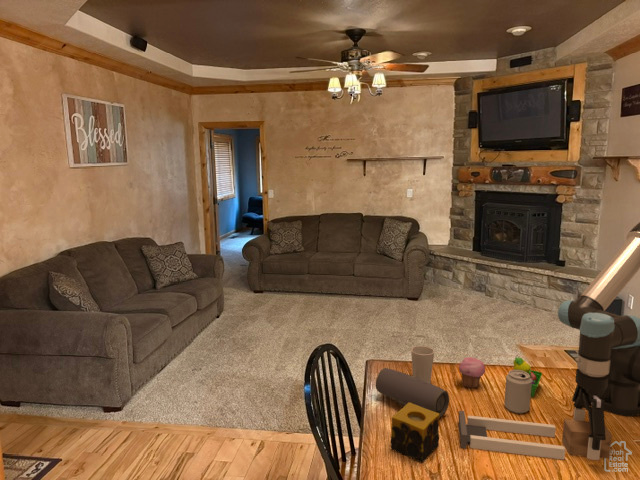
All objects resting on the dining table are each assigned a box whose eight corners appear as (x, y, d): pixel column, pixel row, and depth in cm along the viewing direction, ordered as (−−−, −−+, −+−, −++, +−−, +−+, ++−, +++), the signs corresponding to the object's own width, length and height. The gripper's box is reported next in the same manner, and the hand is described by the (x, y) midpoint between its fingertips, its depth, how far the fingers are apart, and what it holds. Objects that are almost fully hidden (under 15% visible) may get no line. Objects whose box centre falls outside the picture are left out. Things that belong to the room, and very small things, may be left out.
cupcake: (460, 377, 175) (462, 351, 173) (485, 382, 171) (487, 356, 169) (455, 388, 167) (457, 361, 165) (481, 393, 163) (483, 366, 161)
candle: (407, 432, 140) (408, 401, 139) (439, 445, 134) (441, 413, 132) (389, 449, 133) (390, 416, 131) (422, 464, 126) (423, 429, 125)
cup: (406, 378, 174) (407, 347, 172) (425, 375, 176) (426, 344, 174) (417, 388, 167) (418, 356, 164) (437, 385, 169) (438, 353, 167)
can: (531, 415, 149) (534, 379, 147) (506, 413, 150) (508, 377, 148) (526, 403, 156) (529, 369, 154) (502, 401, 158) (504, 367, 156)
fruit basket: (536, 400, 159) (539, 368, 157) (508, 393, 163) (510, 362, 161) (541, 386, 168) (544, 355, 166) (514, 380, 173) (516, 350, 171)
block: (600, 445, 134) (602, 422, 133) (609, 458, 128) (611, 434, 127) (561, 442, 136) (563, 419, 134) (569, 454, 130) (571, 431, 129)
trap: (484, 425, 144) (485, 413, 143) (489, 451, 131) (490, 438, 131) (458, 422, 145) (459, 410, 145) (460, 447, 133) (461, 434, 132)
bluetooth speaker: (449, 414, 150) (451, 384, 148) (433, 426, 144) (434, 395, 142) (391, 389, 166) (391, 362, 164) (374, 399, 160) (374, 371, 158)
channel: (553, 434, 139) (554, 424, 139) (564, 459, 128) (565, 449, 127) (467, 424, 144) (467, 415, 144) (470, 448, 133) (470, 438, 132)
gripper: (564, 351, 141) (558, 418, 144) (591, 392, 117) (583, 470, 120) (592, 353, 139) (586, 421, 143) (626, 395, 115) (617, 474, 119)
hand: (585, 443), depth 132 cm, fingers open, 13 cm apart
